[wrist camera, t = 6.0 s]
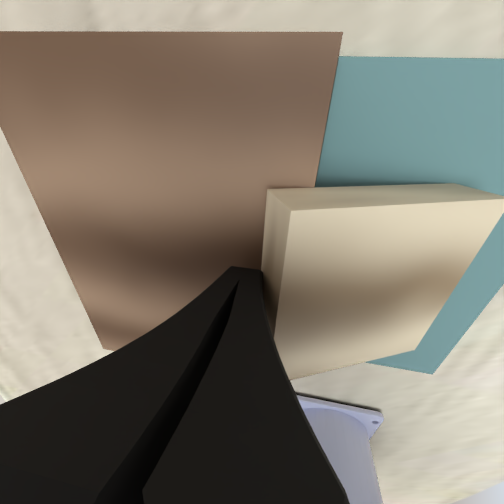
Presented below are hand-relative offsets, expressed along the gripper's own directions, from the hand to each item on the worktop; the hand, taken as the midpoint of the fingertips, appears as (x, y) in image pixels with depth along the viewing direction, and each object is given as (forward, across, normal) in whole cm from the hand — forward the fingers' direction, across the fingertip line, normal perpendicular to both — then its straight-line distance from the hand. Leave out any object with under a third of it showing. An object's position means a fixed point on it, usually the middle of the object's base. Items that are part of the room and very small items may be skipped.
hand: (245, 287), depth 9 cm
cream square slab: (+2, -4, 0) cm, 5 cm away
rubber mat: (+4, -7, 0) cm, 8 cm away
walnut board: (+4, +4, 0) cm, 6 cm away
